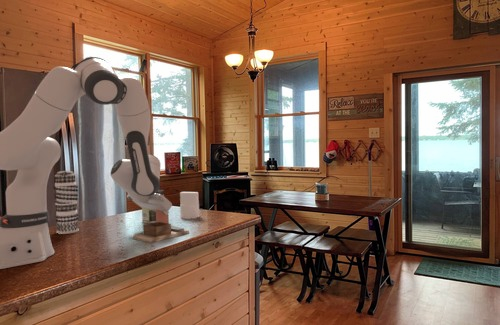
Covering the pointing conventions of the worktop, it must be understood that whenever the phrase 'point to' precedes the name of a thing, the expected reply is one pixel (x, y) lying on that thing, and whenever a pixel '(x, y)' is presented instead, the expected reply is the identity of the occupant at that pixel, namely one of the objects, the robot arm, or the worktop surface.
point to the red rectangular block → (161, 217)
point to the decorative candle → (66, 202)
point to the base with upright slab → (189, 205)
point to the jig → (159, 232)
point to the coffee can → (150, 212)
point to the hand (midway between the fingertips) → (163, 212)
